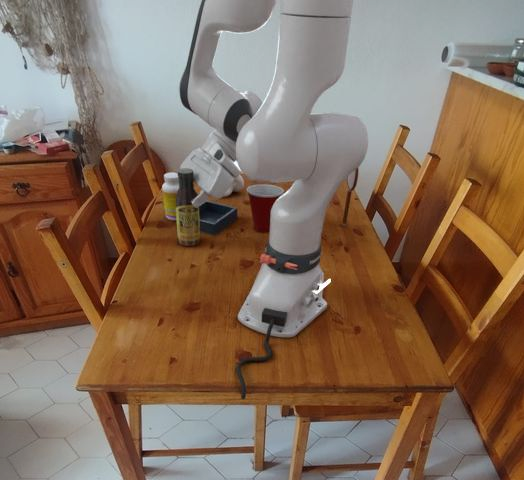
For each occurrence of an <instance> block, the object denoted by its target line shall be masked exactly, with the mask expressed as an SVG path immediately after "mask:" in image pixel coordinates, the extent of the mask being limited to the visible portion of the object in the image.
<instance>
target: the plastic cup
mask: <svg viewBox="0 0 524 480" xmlns="http://www.w3.org/2000/svg"><path fill="white" fill-rule="evenodd" d="M246 193H247V195H248V199H249V204H250V210H251V218H252V220H253V221H252V223H253V227H254V230H255V231H257V232H259V233H270V216H271V209H272V207H273V204H274V203H275V201H276V200H277V199H278V198H279V197H280V196H282V195H283V194H285V189H284V188H282V187H280V186H277V185H273V184H253V185H250V186H248V187H247V188H246Z"/></svg>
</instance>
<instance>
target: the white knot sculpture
mask: <svg viewBox="0 0 524 480" xmlns="http://www.w3.org/2000/svg"><path fill="white" fill-rule="evenodd" d="M244 187H245V181H244V179H243V176H241V174H240V175H239V176H238V177H237V178H235V177H234V181H233V183H232V185H231V186H230V187H229V189H228V190H227V191H226V193H225V194H224V195H223V196H222V197H221V198H227V197H229V196H230V195H231V194H232V193H240V192H242V190H243V189H244Z"/></svg>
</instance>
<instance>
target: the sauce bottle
mask: <svg viewBox="0 0 524 480" xmlns="http://www.w3.org/2000/svg"><path fill="white" fill-rule="evenodd" d="M177 173H178V177H179V189H178V191H177V194H176V196H175V198H176V220H177V221H176V232H177V239H178V243H179V245H181V246H185V247H193V246H197V245H199V243H200V238H201V231H200V222H199V207H198V208H196V207H195V206H193V205H192V204H191V201H192V199H193V198H194V197H195V198H196V197H197V196H198V195H199V194H198V193H197V191H196V189H195V186H194V185H195V184H194V182H193V176H194V173H193V170H192V169H189V168H181V169H180V168H179V169H177Z"/></svg>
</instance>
